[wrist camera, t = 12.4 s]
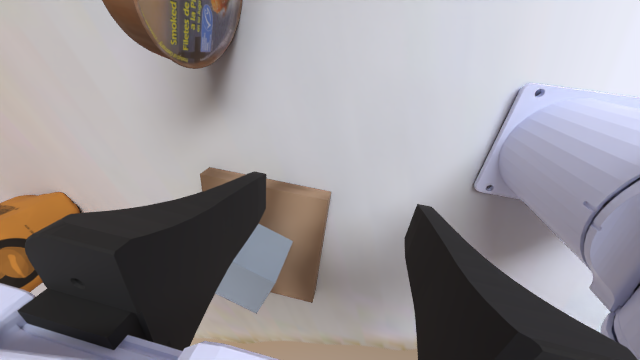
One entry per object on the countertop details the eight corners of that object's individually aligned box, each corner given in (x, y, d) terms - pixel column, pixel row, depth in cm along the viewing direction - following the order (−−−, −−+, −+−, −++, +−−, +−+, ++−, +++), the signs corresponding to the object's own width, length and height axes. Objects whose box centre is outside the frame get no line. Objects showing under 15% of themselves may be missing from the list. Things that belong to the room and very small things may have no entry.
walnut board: (331, 191, 22) (328, 200, 21) (315, 291, 29) (312, 302, 28) (209, 167, 24) (199, 174, 22) (221, 267, 31) (214, 277, 29)
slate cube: (293, 241, 24) (275, 283, 20) (275, 270, 27) (256, 313, 22) (247, 217, 24) (219, 255, 20) (234, 249, 26) (206, 289, 22)
